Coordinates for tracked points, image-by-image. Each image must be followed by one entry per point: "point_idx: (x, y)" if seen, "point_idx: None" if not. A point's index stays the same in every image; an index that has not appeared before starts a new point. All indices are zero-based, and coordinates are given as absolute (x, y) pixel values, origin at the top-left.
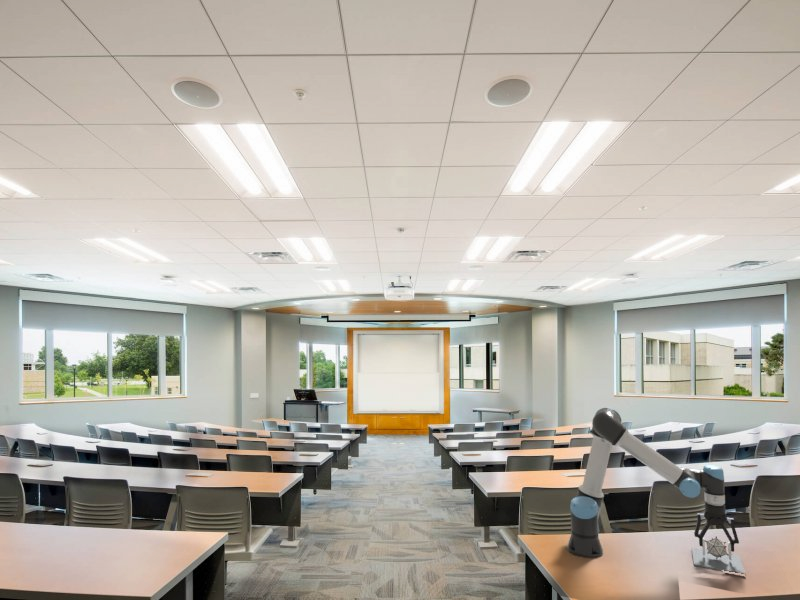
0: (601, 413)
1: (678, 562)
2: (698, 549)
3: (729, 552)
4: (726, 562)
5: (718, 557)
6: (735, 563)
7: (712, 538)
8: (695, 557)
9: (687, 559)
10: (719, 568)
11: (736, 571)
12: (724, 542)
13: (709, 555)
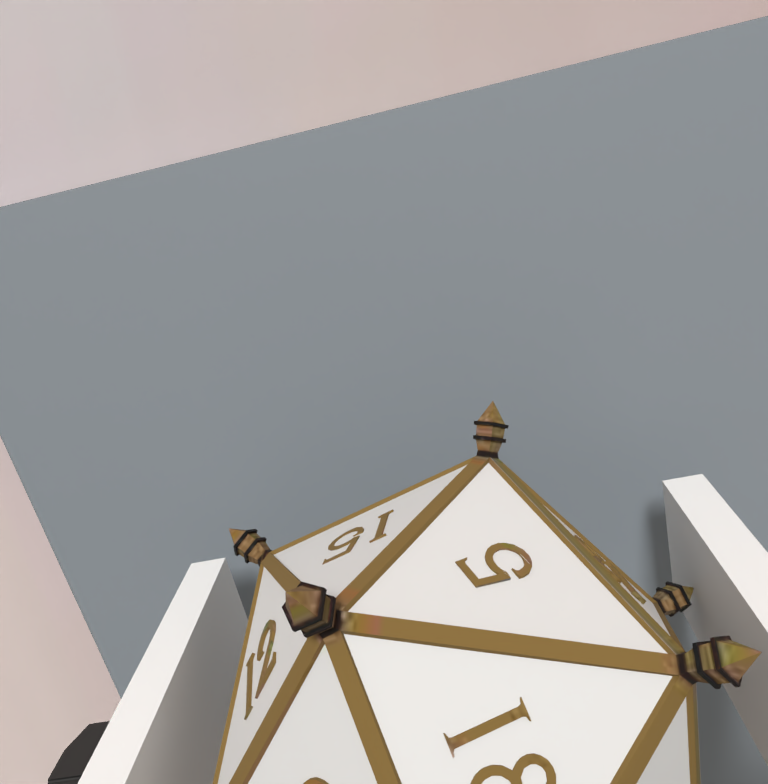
0: None
1: (6, 774)
2: (52, 262)
3: (745, 713)
4: None
5: (457, 423)
6: (750, 504)
7: (303, 610)
8: (138, 655)
9: (52, 625)
10: None
11: (741, 775)
12: (707, 681)
13: (301, 435)
